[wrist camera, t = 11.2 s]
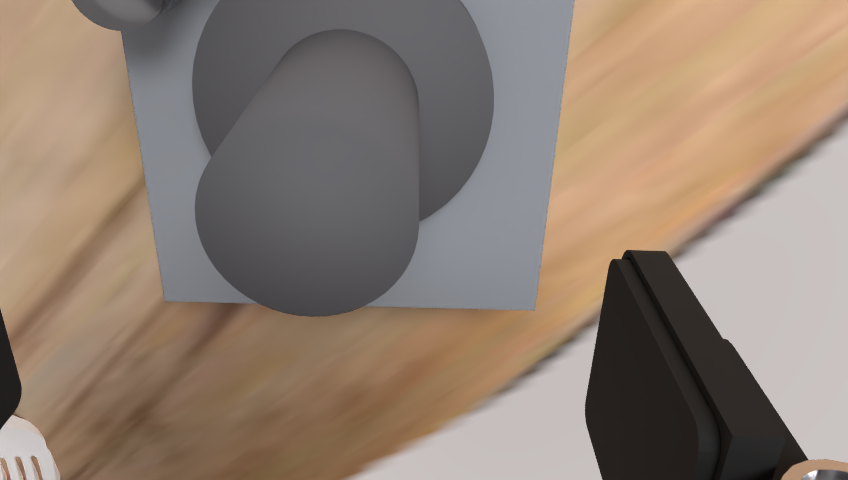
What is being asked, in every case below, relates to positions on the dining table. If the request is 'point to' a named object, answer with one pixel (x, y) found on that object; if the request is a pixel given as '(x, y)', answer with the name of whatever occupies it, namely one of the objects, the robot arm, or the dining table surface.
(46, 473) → the fork
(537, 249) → the socket block
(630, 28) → the dining table surface
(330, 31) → the plug
